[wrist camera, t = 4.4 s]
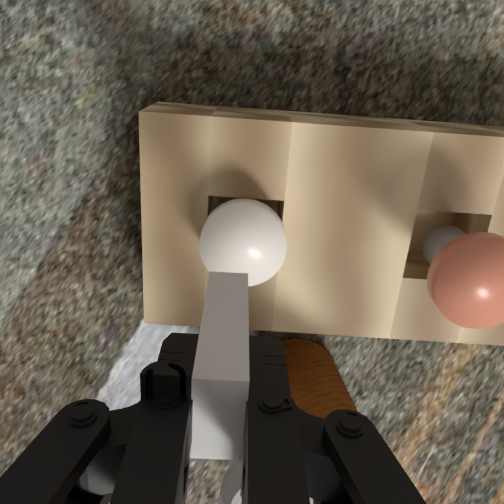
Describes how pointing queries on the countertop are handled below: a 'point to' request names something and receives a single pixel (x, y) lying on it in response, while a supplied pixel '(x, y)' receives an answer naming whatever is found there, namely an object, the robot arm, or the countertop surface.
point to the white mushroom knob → (244, 240)
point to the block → (317, 213)
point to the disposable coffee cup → (300, 397)
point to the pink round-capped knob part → (466, 276)
